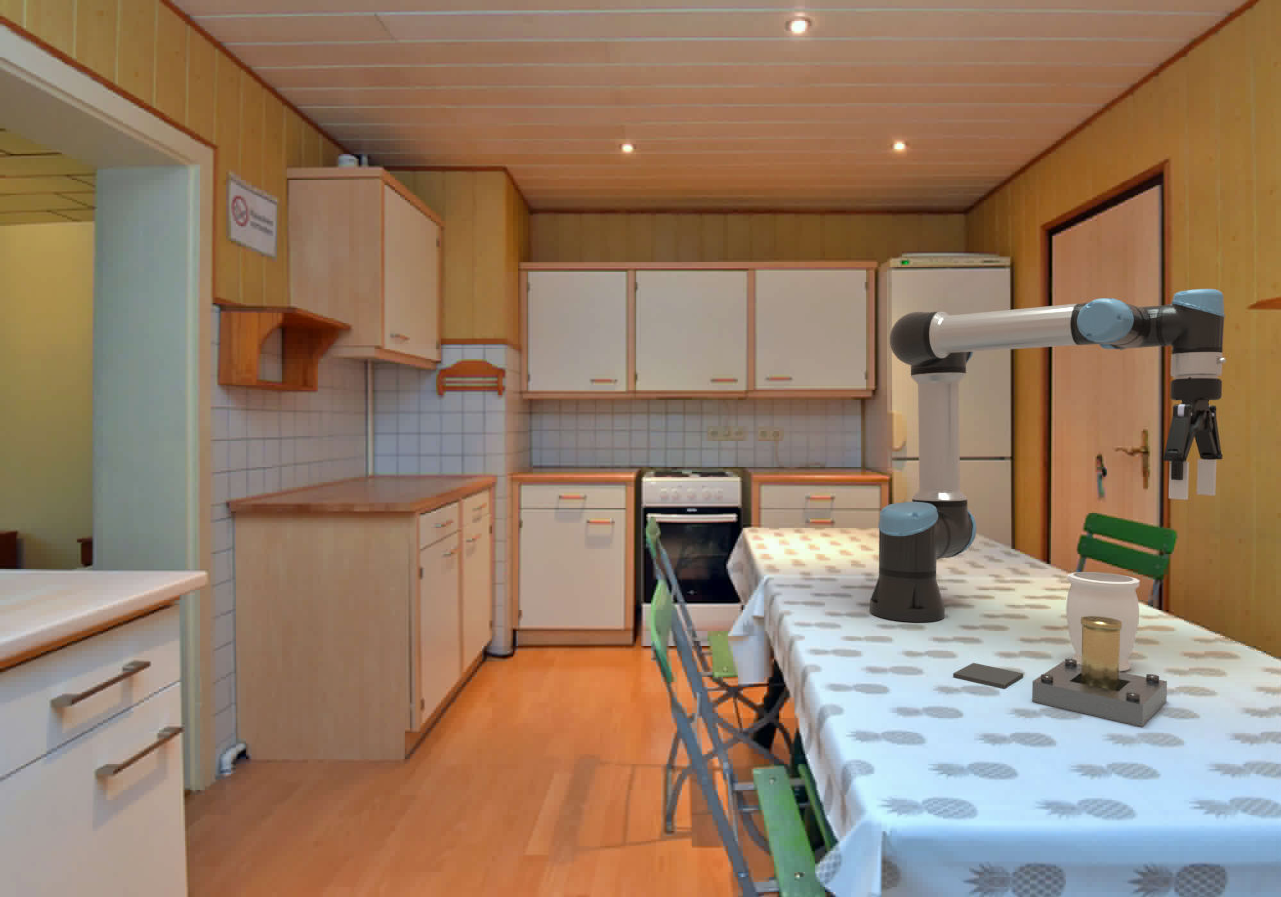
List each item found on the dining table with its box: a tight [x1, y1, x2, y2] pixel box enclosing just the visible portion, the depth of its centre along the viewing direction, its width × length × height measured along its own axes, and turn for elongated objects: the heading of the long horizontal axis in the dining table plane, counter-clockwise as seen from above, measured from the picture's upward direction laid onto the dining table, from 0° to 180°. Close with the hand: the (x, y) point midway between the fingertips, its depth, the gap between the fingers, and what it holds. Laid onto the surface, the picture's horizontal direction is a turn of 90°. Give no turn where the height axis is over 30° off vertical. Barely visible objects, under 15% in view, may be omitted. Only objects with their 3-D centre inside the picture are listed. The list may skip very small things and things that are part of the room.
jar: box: [1065, 571, 1141, 672], centre depth 135 cm, size 11×10×15 cm
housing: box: [1031, 658, 1168, 728], centre depth 117 cm, size 14×14×4 cm
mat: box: [952, 662, 1024, 690], centre depth 129 cm, size 8×8×1 cm
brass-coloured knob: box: [1081, 616, 1122, 692], centre depth 117 cm, size 5×5×12 cm
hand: (1192, 497), depth 143 cm, fingers open, 13 cm apart
